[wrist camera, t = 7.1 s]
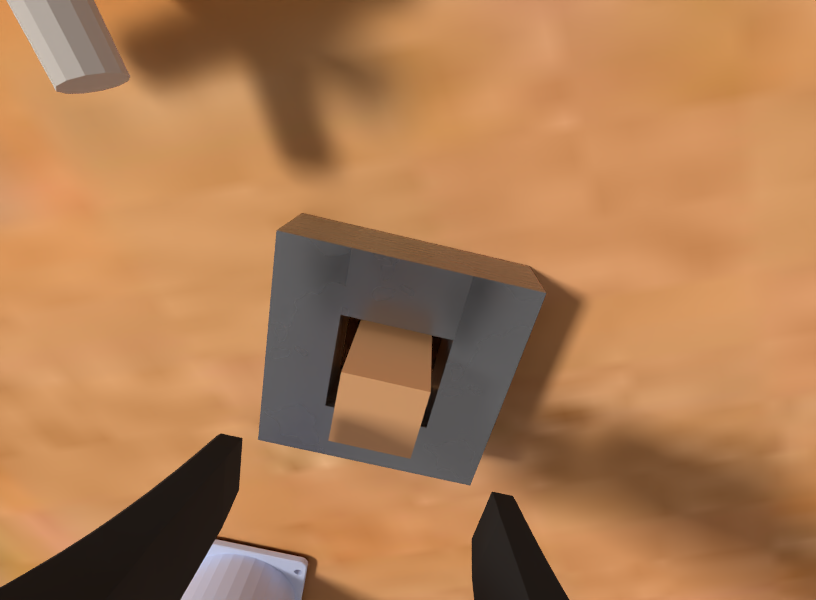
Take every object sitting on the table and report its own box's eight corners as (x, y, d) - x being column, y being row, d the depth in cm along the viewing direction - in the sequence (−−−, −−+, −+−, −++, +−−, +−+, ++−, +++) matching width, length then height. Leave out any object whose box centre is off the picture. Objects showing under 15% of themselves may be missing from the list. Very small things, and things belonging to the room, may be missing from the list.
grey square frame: (465, 439, 22) (470, 485, 19) (281, 398, 21) (258, 439, 19) (529, 266, 18) (546, 293, 15) (302, 213, 17) (276, 230, 14)
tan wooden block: (417, 366, 20) (410, 458, 15) (358, 352, 20) (328, 440, 14) (432, 313, 19) (430, 392, 13) (369, 298, 19) (341, 372, 13)
